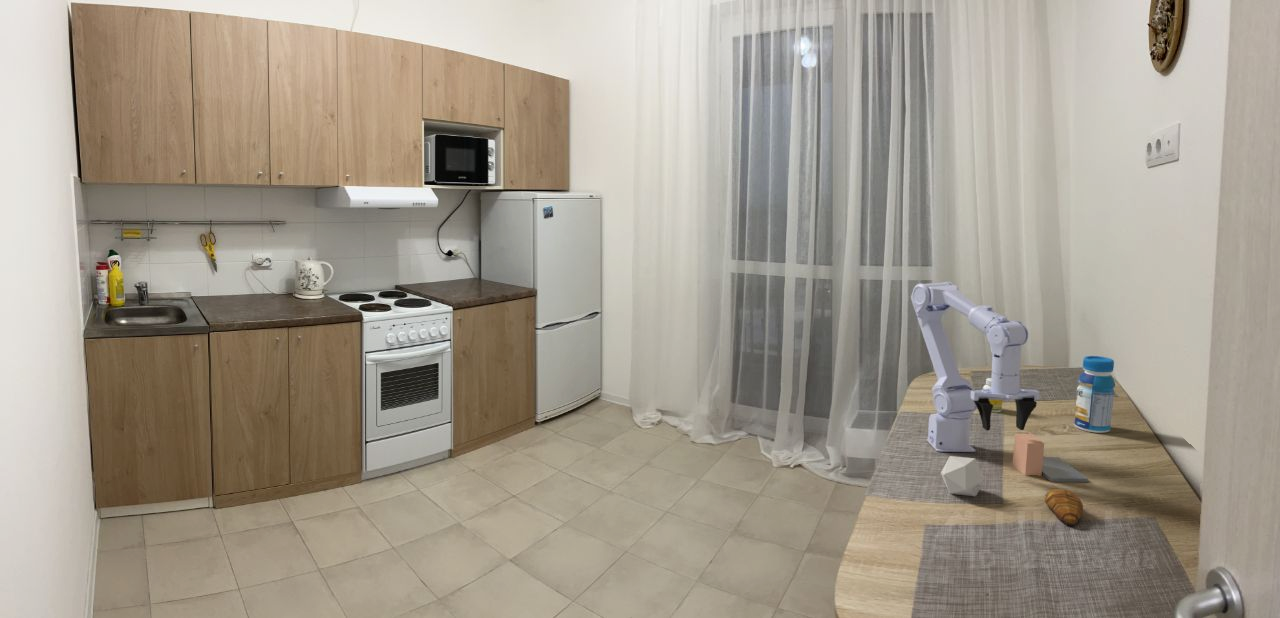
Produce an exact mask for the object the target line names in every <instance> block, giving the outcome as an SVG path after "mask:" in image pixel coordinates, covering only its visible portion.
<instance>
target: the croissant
mask: <svg viewBox="0 0 1280 618" xmlns="http://www.w3.org/2000/svg"><path fill="white" fill-rule="evenodd" d="M1044 503H1045V504H1046V505H1047V507H1048V509H1049V511H1051V513H1053V514H1054V515H1055V516H1056V518H1057V519H1058V520H1060V522H1062V523H1063V524H1065V525H1067V526H1070V527H1074V526H1076V524H1077V522H1078V521H1079V519H1080V518H1081V517H1082V512H1083V510H1084V505H1083V503H1082V501H1081V498H1080V497H1079V496H1078V495H1077V494H1076V493H1073V492H1070V491H1067V490H1065V489H1060V488H1059V489H1058V488H1050V489H1049V490H1048V492H1047V493H1046V494H1045V497H1044Z"/></svg>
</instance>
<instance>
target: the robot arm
mask: <svg viewBox="0 0 1280 618" xmlns="http://www.w3.org/2000/svg"><path fill="white" fill-rule="evenodd" d="M910 300H911V303H912V306H913V309H914V311H915V315H916V317H917V322H918V324H919V327H920V330H921V333H922V336H923V340H924V343H925V345H926V348H927V352H928V354H929V357H930V358H929V359H930V361H931V362H932V363H931V365H932V367H933V370H934V372H935V375H936V378H937V381H936V382H935V384H934V385H933V386H932V388H931V392H932V398H933V400H932V401H933V402H932V403H933V406H934V409H935V410H936V413H931V414H930V415H929V417H928V430H927V438H926V441H927V442H928V443H929V445H931V446H932V447H933V449H934V450H935V451H936V452H941V453H942V452H944V453H945V452H946V453H947V452H948V453H949V452H952V453H953V452H954V453H955V452H957V453H960V452H961V453H976V449H975V448H974V447H973V446H971V444H970V437H971V436H970V434H971V433H970V432H971V423H972V422H971V419H972V416H974V411H978V414H979V416H980V420H981V423H982V428H983V429H984V430H986V431H990V429H991V416H992V413H993V412H992V408H993V405H992V404H991V403H990V401H989V400H995V399H1002V400H1014V402H1015V408H1016V416H1015V417H1016V418H1015V424H1016V428H1017V429H1019V430H1020V431H1024V430H1025V427H1026V423H1027V421H1028V419H1029V417H1030V415H1031V414H1032V412H1033V411H1034V410H1035V409H1036V407H1037V404H1038V403H1037V401H1039V400H1040V391H1039V390H1036V389H1025V388H1020V380H1021V364H1022V363H1021V362H1022V361H1021V359H1022V346H1023V345H1025V344H1026V343H1027V341H1028V339H1029V330H1028V329H1027V326H1026V325H1025V324H1024V323H1023V322H1022V321H1020V320H1009V319H1008V317H1006V315H1002V314H1000V313H998V312H997V311H995V310H994V308H993V306H991V305H990V304H989V305H988V304H987V305H977V304H976V303H975V302H974V301H972V300H971V299H970V298H968V297H967V296H966V295H964V294H963V292H960V290H959V286H958V285H956V284H954V283H953V282H951V281H944V282H932V283H918V284H916V285H915V286H914V287H913V290H912V293H911V295H910ZM951 308H952V309H954V310H956V311H957V312H959V313H961V314H963V315H964V316H966V317H967V318H968V323H969V325H970V326H972V327H973V328H975V329H977V330H978V331H979V332H981V333H982V334H983V335H985V336H986V338H987V339H986V340H987V342H988V343H989V346H990V352H991V354H992V357H991V361H992V362H991V377H990V378H991V389H983V388H982V389H976V390H975V389H974V388H973V385H972V382H971V381H970V380H968V379H966V378H965V377H963V376H962V375H960V371H959V368H958V366H957V363H956V359H955V357H954V354H953V351H952V349H951V345H950V343H949V339H948V337H947V334H946V330H945V328H944V326H943V323H942V318H943V316H945V315H946V314H947V312H948V311H949V310H950V309H951Z"/></svg>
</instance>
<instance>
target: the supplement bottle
mask: <svg viewBox="0 0 1280 618" xmlns="http://www.w3.org/2000/svg"><path fill="white" fill-rule="evenodd" d="M983 389H991V377H987V378H985V384H984V385H983V387H982V390H983ZM989 401H990V403H991V404H992V405H993V408H992V412H991V413H1000V412H1002V410H1003V399H995V400H989Z"/></svg>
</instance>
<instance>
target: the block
mask: <svg viewBox="0 0 1280 618" xmlns="http://www.w3.org/2000/svg"><path fill="white" fill-rule="evenodd" d="M1013 444H1014V445H1013V454H1012V455H1013V456H1012V465H1013V467H1015V468H1016V469H1017V470H1018V471H1019V472H1020V473H1022V474H1023V475H1024V476H1025V475H1028V477H1030V476H1029V475H1038V476H1037V477H1041V476H1043V475H1042V464H1043V457H1044V449H1045V443H1044V442H1043V441H1042V440H1040V439H1039V438H1037V437H1036V436H1034V435H1033V434H1032V433H1015V434H1014V443H1013Z"/></svg>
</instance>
